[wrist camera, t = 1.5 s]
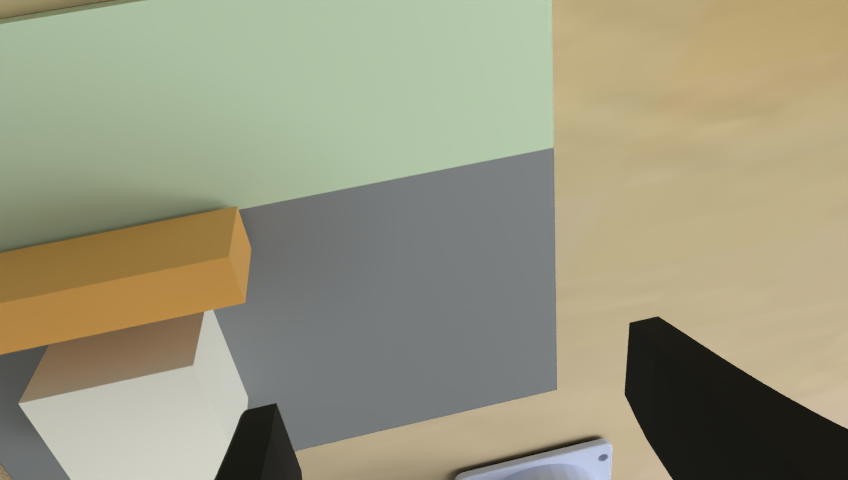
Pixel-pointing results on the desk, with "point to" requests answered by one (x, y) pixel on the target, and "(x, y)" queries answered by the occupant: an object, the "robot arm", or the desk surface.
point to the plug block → (139, 401)
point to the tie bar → (122, 279)
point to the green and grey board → (306, 190)
